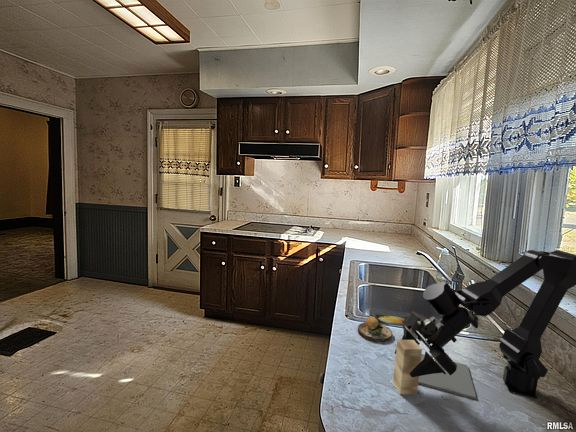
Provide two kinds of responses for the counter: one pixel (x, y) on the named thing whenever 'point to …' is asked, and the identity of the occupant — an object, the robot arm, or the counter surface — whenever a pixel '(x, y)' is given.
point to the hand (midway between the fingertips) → (402, 364)
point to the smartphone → (390, 319)
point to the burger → (374, 331)
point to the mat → (450, 381)
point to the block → (406, 366)
